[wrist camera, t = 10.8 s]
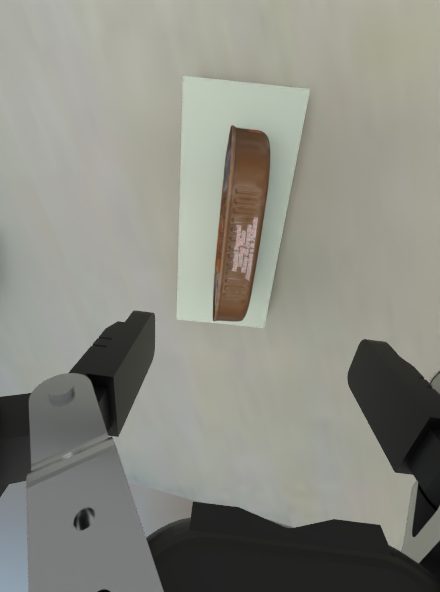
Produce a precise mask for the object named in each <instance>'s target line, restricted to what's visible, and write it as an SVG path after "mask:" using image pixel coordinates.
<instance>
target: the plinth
mask: <svg viewBox="0 0 440 592" xmlns="http://www.w3.org/2000/svg"><path fill="white" fill-rule="evenodd" d="M309 93H310V89H306V88H296V87H286V86H277V85H267V84H257V83H248V82H238V81H228V80H219V79H209V78H199V77H190V76H183V95H182V133H181V171H180V209H179V246H178V284H177V319H179V320H189V321H198V322H208V323H218V324H228V325H238V326H247V327H257V328H264V327H265V321H266V316H267V311H268V306H269V301H270V295H271V290H272V285H273V280H274V275H275V269H276V264H277V259H278V254H279V249H280V243H281V238H282V233H283V228H284V223H285V218H286V212H287V207H288V202H289V197H290V192H291V186H292V181H293V176H294V171H295V166H296V160H297V155H298V150H299V145H300V140H301V134H302V129H303V124H304V119H305V114H306V108H307V103H308V98H309ZM232 125H234V126H235V127H237V128H244V129H253V130H259V131H262V132H264V133H265V134H266V135H267V136H268V139H269V143H270V175H269V185H268V193H267V200H266V207H265V213H264V220H263V226H262V233H261V239H260V245H259V252H258V258H257V264H256V270H255V276H254V282H253V287H252V293H251V299H250V303H249V307H248V311H247V314H246V316H245V318H244V319H243V320H242V321H238V322H232V321H213V288H214V273H215V260H216V249H217V239H218V229H219V218H220V207H221V197H222V186H223V178H224V166H225V157H226V151H227V145H228V139H229V133H230V128H231V126H232Z"/></svg>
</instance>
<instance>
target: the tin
mask: <svg viewBox="0 0 440 592" xmlns="http://www.w3.org/2000/svg"><path fill="white" fill-rule="evenodd" d="M269 175H270V143H269V139H268V136H267V135H266V134H265V133H264V132H262V131H259V130H253V129H244V128H237V127H235V126H234V125H232V126H231V128H230V133H229V139H228V145H227V151H226V157H225V166H224V178H223V186H222V197H221V207H220V218H219V229H218V239H217V249H216V260H215V273H214V288H213V321H232V322H238V321H242V320H243V319H244V318H245V316H246V314H247V311H248V307H249V303H250V299H251V293H252V287H253V282H254V276H255V270H256V264H257V258H258V252H259V245H260V239H261V233H262V226H263V220H264V213H265V207H266V200H267V193H268V185H269Z"/></svg>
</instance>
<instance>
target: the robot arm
mask: <svg viewBox="0 0 440 592" xmlns="http://www.w3.org/2000/svg"><path fill="white" fill-rule="evenodd" d="M154 351H155V315H154V313H151V312H142V311H133V312H132V313H131V315H130V316H129V317H128V319H127V320H126V321H125V322H116V323H115V324H113V325H111V326H109V327H107V328H106V329H105V330H104V332H103V333H102V334H101V335H100V336H99V339H97V340H96V341H95V342H94V343H93V346H91V347H90V348H89V349H88V350H87V352H86V353H85V354H84V355H83V356H82V358H81V359H80V360H79V361H78V362H77V363H76V365H75V366H74V367H73V368H72V369H71V371H70V372H69V373H67V374H61V375H57V376H54V377H52V378H49V379H47V380H46V381H44V382H42V383H41V384H40V385H38V386H37V387H36V388H35V389H34V390H33V392H32V393H28V394H21V395H12V396H4V397H0V497H1V495H2V493H3V492H4V491H5V489H6V488H7V486H8V485H9V484H12V483H17V482H22V481H26V499H27V540H28V579H29V580H28V582H29V592H440V373H439V374H438V375H437V376H436V377H435V378H434V380H433V381H432V383H431V385H430V383H429V382H428V381H427V380H424V377H423V376H422V375H421V374H420V373H419V372H418V371H417V370H416V368H415V367H414V366H412V365H411V364H409V363H408V362H406V361H405V360H404V359H402V358H401V357H400V356H399V355H398V354H397V353H396V352H395V351H394V350H393V349H392V347H391V346H390V345H389V344H388V343H386V342H382V341H374V340H366V339H364V340H362V341H361V342H360V344H359V346H358V349H357V351H356V354H355V356H354V359H353V361H352V364H351V366H350V368H349V371H348V385H349V387H350V389H351V391H352V393H353V395H354V397H355V399H356V401H357V402H358V404H359V406H360V408H361V410H362V412H363V414H364V415H365V417H366V419H367V421H368V423H369V425H370V427H371V429H372V430H373V432H374V434H375V436H376V438H377V440H378V442H379V443H380V445H381V447H382V449H383V451H384V453H385V455H386V456H387V458H388V460H389V462H390V464H391V466H392V468H393V470H394V471H395V472H396V473H404V474H412V475H414V476H415V478H416V482H415V483H414V485H413V486H412V490H411V496H410V503H409V510H408V516H407V523H406V530H405V537H404V543H403V547H402V550H401V552H400V551H399V550H397V549H395V548H393V547H391V546H389V545H388V543H387V541H386V538H385V536H384V533H383V531H382V528H381V526H380V525H375V524H367V523H359V522H351V521H343V520H335V519H333V520H329V521H324V522H319V523H315V524H310V525H306V526H301V527H296V528H286V527H283V526H281V525H278V524H276V523H274V522H271V521H269V520H267V519H264V518H262V517H260V516H258V515H255V514H253V513H251V512H248V511H246V510H244V509H241V508H239V507H231V506H223V505H215V504H207V503H199V502H193V506H192V514H191V518H186V519H181V520H178V521H175V522H172V523H170V524H168V525H166V526H164V527H162V528H160V529H158V530H157V531H155V532H154V533H152V534H151V535H149V536H148V537H147V538H146V536H145V533H144V530H143V527H142V524H141V521H140V518H139V515H138V512H137V509H136V506H135V503H134V500H133V497H132V494H131V491H130V488H129V485H128V482H127V479H126V476H125V473H124V470H123V466H122V463H121V460H120V457H119V454H118V451H117V448H116V445H115V443H114V440H113V438H112V437H109V436H116V437H118V436H119V434H120V432H121V430H122V427H123V425H124V423H125V421H126V418H127V416H128V414H129V412H130V410H131V407H132V405H133V403H134V401H135V398H136V396H137V394H138V392H139V389H140V387H141V385H142V383H143V381H144V378H145V376H146V374H147V372H148V369H149V367H150V365H151V363H152V360H153V356H154Z"/></svg>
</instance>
